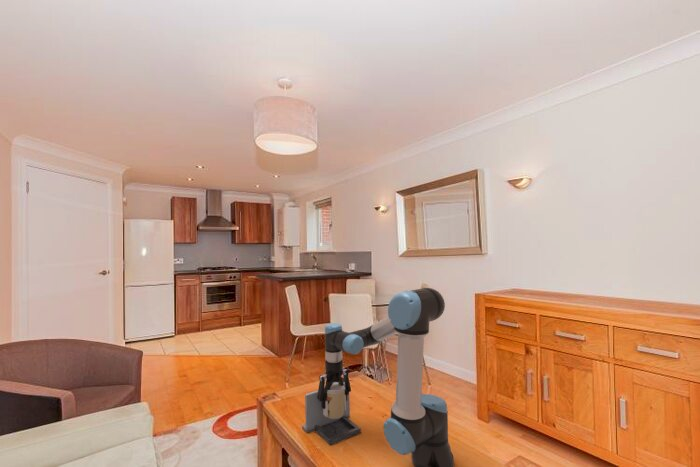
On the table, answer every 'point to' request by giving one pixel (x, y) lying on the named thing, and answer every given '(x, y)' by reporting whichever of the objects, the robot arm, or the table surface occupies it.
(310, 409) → the wall board
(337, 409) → the coffee cup
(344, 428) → the plate
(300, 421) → the table surface
